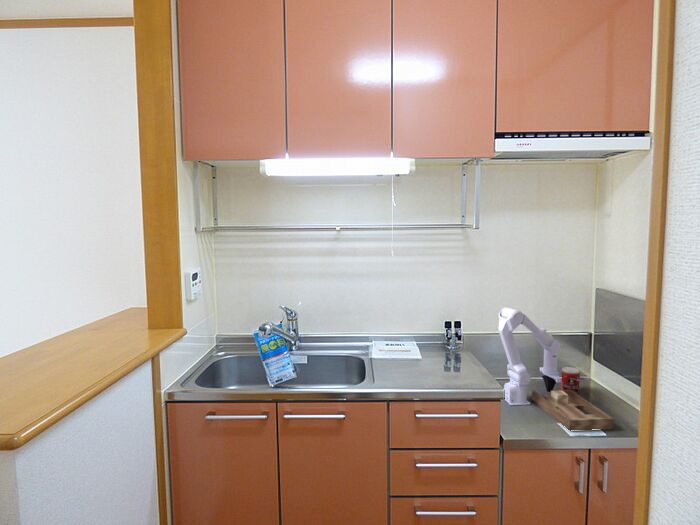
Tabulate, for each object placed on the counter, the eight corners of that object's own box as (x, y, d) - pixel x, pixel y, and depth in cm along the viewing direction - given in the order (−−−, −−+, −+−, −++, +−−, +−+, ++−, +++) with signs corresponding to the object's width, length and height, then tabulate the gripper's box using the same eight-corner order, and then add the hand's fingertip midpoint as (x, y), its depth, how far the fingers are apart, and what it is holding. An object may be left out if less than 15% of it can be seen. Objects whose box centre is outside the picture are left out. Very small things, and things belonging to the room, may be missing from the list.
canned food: (562, 393, 193) (562, 371, 192) (560, 387, 200) (561, 366, 199) (580, 396, 190) (581, 373, 189) (577, 389, 197) (578, 367, 196)
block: (557, 404, 177) (557, 395, 177) (550, 399, 182) (551, 390, 182) (567, 403, 178) (568, 394, 177) (561, 398, 183) (561, 390, 182)
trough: (569, 431, 158) (570, 420, 157) (531, 399, 186) (532, 390, 186) (613, 429, 159) (613, 418, 158) (568, 398, 188) (569, 388, 187)
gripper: (568, 368, 179) (567, 397, 181) (549, 357, 194) (549, 385, 195) (552, 369, 179) (552, 398, 180) (535, 358, 193) (535, 385, 195)
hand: (549, 391), depth 188 cm, fingers closed
